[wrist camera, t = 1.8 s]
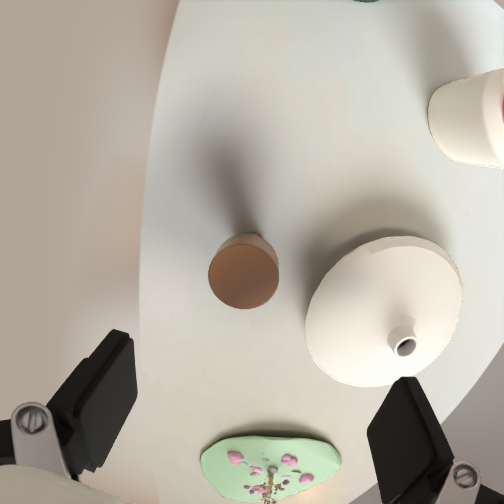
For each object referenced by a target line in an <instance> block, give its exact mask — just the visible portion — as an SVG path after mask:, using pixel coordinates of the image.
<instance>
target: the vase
mask: <svg viewBox="0 0 504 504" xmlns="http://www.w3.org/2000/svg"><path fill="white" fill-rule="evenodd" d="M462 303H463V290H462V281H461V278H460V274H459V271H458V268H457V266H456V264H455V263H454V262H453V260H452V259H451V257H450V256H449V255H448V253H447V252H446V251H445V250H443V249H442V248H440V247H439V246H437V245H436V244H434V243H433V242H432V241H429V240H425V239H421V238H418V237H414V236H395V237H384V238H381V239H378V240H375V241H372V242H368V243H365V244H363V245H361V246H359V247H358V248H356V249H355V250H353V251H351V252H350V253H348V254H347V255H345V256H343V257H342V258H341V259H340V260H339V261H338V262H337V263H336V264H335V265H334V266H333V267H332V268H331V269H330V270H329V271H328V272H327V273H326V275H325V276H324V278H323V280H322V281H321V283H320V285H319V286H318V288H317V290H316V291H315V293H314V295H313V297H312V299H311V302H310V306H309V309H308V312H307V316H306V319H305V340H306V343H307V346H308V349H309V352H310V355H311V357H312V358H313V360H314V361H315V362H316V364H317V365H318V366H319V368H320V369H321V370H322V371H323V372H325V373H326V374H328V375H329V376H330V377H332V378H333V379H335V380H337V381H340V382H343V383H346V384H349V385H353V386H360V387H379V386H385V385H391V384H393V383H394V382H395V381H396V380H398V379H399V378H400V377H402V376H404V377H411V376H413V375H414V374H416V373H418V372H419V371H421V370H422V369H424V368H425V367H426V366H427V365H429V364H430V363H431V362H432V361H433V360H434V359H435V358H436V357H438V355H439V354H440V353H441V352H442V350H443V349H444V348H445V346H446V345H447V344H448V342H449V341H450V339H451V337H452V335H453V333H454V331H455V329H456V327H457V324H458V320H459V316H460V312H461V308H462Z"/></svg>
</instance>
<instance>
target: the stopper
mask: <svg viewBox="0 0 504 504" xmlns="http://www.w3.org/2000/svg"><path fill="white" fill-rule="evenodd" d="M208 278H209V284H210V286H211V289H212V291H213V292H214V294H215V295H216V296H217V297H218V299H220V300H221V301H222V302H223V303H225V304H227V305H229V306H231V307H234V308H238V309H252V308H256V307H259V306H261V305H263V304H264V303H266V302H267V301H268V300H269V299H270V298H271V297H272V296H273V295H274V293H275V291H276V289H277V286H278V282H279V267H278V258H277V255H276V252H275V250H274V249H273V247H272V246H271V245H270V244H269V243H268V242H267V241H266V240H264V239H263V238H261V237H260V236H259V235H258V234H255V233H246V234H240V235H236V236H233V237H231V238H229V239H227V240H226V241H225V242H224V243H223V244H222V245H221V246H220V247H219V249H218V251H217V253H216V254H215V256H214V258H213V260H212V262H211V264H210V267H209V271H208Z"/></svg>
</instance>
